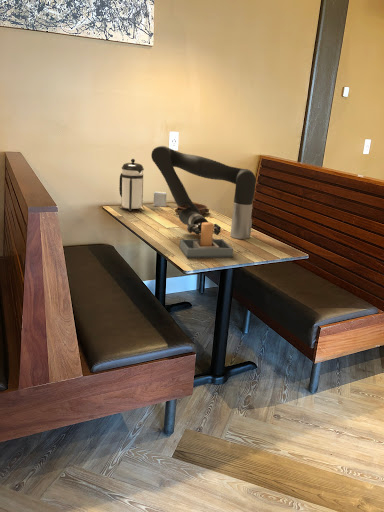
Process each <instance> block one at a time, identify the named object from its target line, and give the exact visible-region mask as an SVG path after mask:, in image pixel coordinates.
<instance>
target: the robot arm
mask: <svg viewBox="0 0 384 512" xmlns="http://www.w3.org/2000/svg"><path fill="white" fill-rule="evenodd" d="M151 160H152V162H153V163H154V164H155V166H156V167H157V168H158V170H159V171H160V173H161V175H162V176H163V179H164V180H165V182H166V185H167V187H168V189H169V191H170V193H171V195H172V198H173V200H174V202H175V204H176V206H177V205H178V206H181V205H185V204H187V205H189V207H188V208H186V209H184V210H182V211H181V212H180V213H178V218H179V221H180V222H181V223H182V224H183V225H185V226H187V227H186V231H187V232H188V233H189V234H191V233H193V234H195V235H196V236H200V235H201V227H202V223H204V222H208V223H209V221H208V220H207V218H205V217H204V216H203V215H200V211H199V209H198V208H197V207H196V206H195V205H194V203H195V202H193V201H192V200H191V198H190V196H189V194H188V192H187V189H186V188H185V186H184V184H183V182H182V181H181V179H180V177H179V176H178V174H177V172H176V170H175V168H178V169H180V170H183V171H185V172H187V173H189V174H192V175H195V176H197V177H201V178H204V179H210V180H216V181H225V182H228V183H231V184H234V185H235V190H234V198H233V206H232V208H233V209H232V216H231V226H230V234H229V235H230V237H231V238H233V239H237V240H247V239H251V235H252V234H251V233H252V226H253V225H252V224H253V219H252V214H253V212H252V211H253V205H254V204H253V201H254V197H255V191H256V190H255V189H256V183H257V182H256V181H257V180H256V179H257V178H256V176H255V174H254V172H253V171H252V170H250V169H247V168H241V167H240V168H239V167H234V166H230V165H227V164H225V163H222V162H220V161H216V160H214V159H210V158H208V157H204V156H198V155H196V154H195V155H194V154H188V153H183V152H180V151H177V150H174V149H172V148H169V147H168V146H165V145H157V146H155V147H154V148H153V149H152V152H151ZM221 229H222V227H221V226H220V225H218V224H217V223H213V234H214V235H216V236H218V235H220V234H221Z"/></svg>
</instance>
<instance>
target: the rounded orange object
mask: <svg viewBox="0 0 384 512" xmlns="http://www.w3.org/2000/svg"><path fill="white" fill-rule="evenodd" d="M213 226H214V223H212V222H209V221H208V222H204V223H202V227H201V234H200V239H201V240H200V247H208V246H212V239H213V234H214V233H213V231H214V229H213Z"/></svg>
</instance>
